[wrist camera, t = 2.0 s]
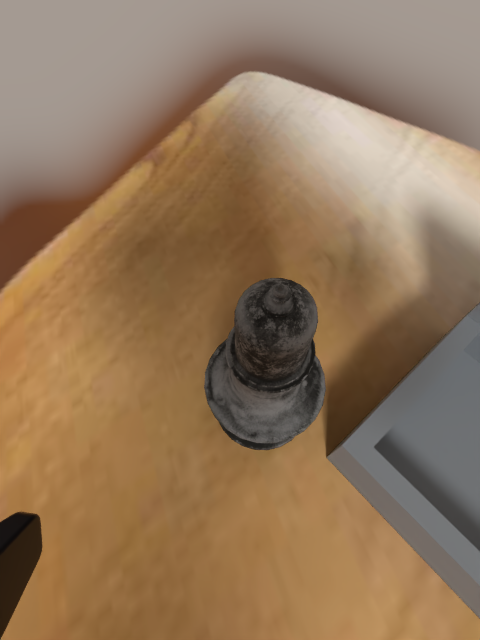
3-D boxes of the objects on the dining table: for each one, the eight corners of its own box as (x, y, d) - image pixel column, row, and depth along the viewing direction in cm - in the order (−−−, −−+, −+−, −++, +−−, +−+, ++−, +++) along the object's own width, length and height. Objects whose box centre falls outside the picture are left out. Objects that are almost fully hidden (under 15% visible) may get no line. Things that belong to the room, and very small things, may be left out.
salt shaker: (187, 409, 22) (139, 299, 11) (251, 335, 24) (261, 184, 13) (272, 480, 20) (308, 428, 10) (333, 393, 22) (418, 273, 12)
